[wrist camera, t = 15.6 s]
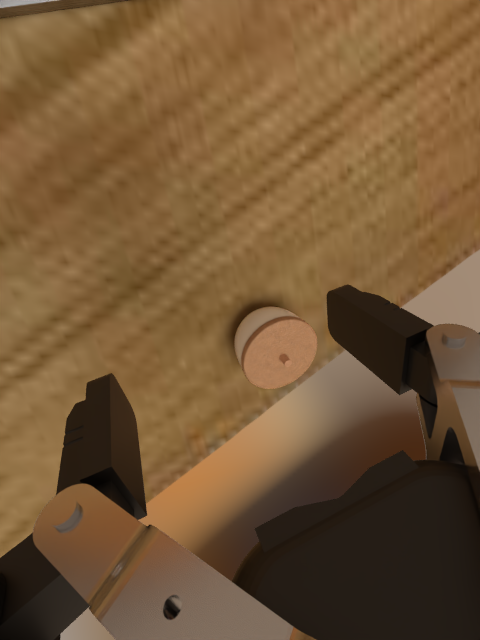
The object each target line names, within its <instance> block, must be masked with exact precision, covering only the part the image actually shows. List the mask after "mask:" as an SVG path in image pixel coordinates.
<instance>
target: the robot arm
mask: <svg viewBox="0 0 480 640" xmlns="http://www.w3.org/2000/svg"><path fill="white" fill-rule="evenodd" d="M327 315H328V328H329V332H330V334H331V336H332V337H333V339H334V340H335V341H336V342H337V343H339V344H340V345H341V346H342V347H343V348H344V349H346V350H347V351H348V352H349V353H350V354H352V355H353V356H354V357H355V358H356V359H357V360H359V361H360V362H361V363H362V364H363V365H365V366H366V367H367V368H368V369H369V370H370V371H372V372H373V373H374V374H375V375H376V376H378V377H379V378H380V379H381V380H383V382H385V383H386V384H387V385H388V386H389V387H391V388H392V389H393V390H394V391H395V392H396V393H398V394H399V395H400V394H403V393H405V392H407V391H409V390H411V389H413V390H414V391H416V392H417V394H416V403H417V408H418V413H419V418H420V422H421V427H422V432H423V436H424V442H425V447H426V460H416V461H413V460H412V459H411V458H410V457H409V456H408V455H407V454H406V453H405V452H404V451H403V450H402V451H400V452H399V453H397V454H395V455H393V456H391V457H389V458H387V459H385V460H383V461H381V462H380V463H378V464H376V465H374V466H372V467H370V468H369V469H368V470H367V471H366V472H365V473H364V474H363V475H362V476H361V477H360V478H359V479H358V480H357V481H356V483H354V484H353V485H352V486H351V488H349V489H348V490H347V491H346V492H345V494H344V495H342V496H341V497H339V498H337V499H333V500H328V501H324V502H319V503H314V504H309V505H304V506H300V507H295V508H293V509H291V510H289V511H287V512H285V513H283V514H281V515H279V516H277V517H276V518H274V519H272V520H270V521H268V522H266V523H264V524H262V525H261V526H259V527H257V528H255V531H256V533H257V536H258V539H259V542H258V543H257V544H256V545H255V546H254V547H253V548H252V549H251V551H250V552H249V553H248V554H247V556H246V557H245V558H244V560H243V561H242V563H241V564H240V566H239V568H238V569H237V571H236V573H235V575H234V577H233V579H232V582H231V581H229V580H228V579H227V578H226V577H224V576H223V575H221V574H220V573H219V572H217V571H216V570H215V569H213V568H212V567H210V566H209V565H208V564H206V563H205V562H204V561H202V560H201V559H199V558H198V557H197V556H195V555H194V554H192V553H191V552H190V551H188V550H187V549H186V548H184V547H183V546H181V545H180V544H178V543H177V542H176V541H175V540H173V539H172V538H170V537H169V536H168V535H166V534H165V533H163V532H162V531H161V530H159V529H158V528H156V527H154V526H152V525H149V526H146V525H144V524H142V523H141V522H140V521H138V520H139V519H141V518H143V517H145V516H147V511H146V502H145V493H144V484H143V476H142V467H141V458H140V449H139V440H138V432H137V423H136V418H135V415H134V412H133V409H132V407H131V405H130V403H129V401H128V399H127V398H126V396H125V394H124V392H123V390H122V389H121V387H120V385H119V383H118V382H117V380H116V378H115V376H114V375H113V374H112V373H111V374H108V375H105V376H103V377H100V378H97V379H95V380H92V381H90V382H88V383H87V388H86V400H84V401H82V402H79V403H76V404H75V406H74V407H73V409H72V411H71V412H70V414H69V416H68V418H67V421H66V428H65V434H66V435H65V436H64V443H63V445H64V447H63V450H62V457H61V464H60V471H59V478H58V486H57V493H56V496H54V497H53V498H52V499H51V500H50V501H49V502H48V503H47V504H46V506H45V507H44V508H43V510H42V511H41V513H40V514H39V516H38V518H37V520H36V522H35V525H34V529H33V533H32V534H31V535H29V536H28V537H27V538H26V539H25V540H23V541H22V542H21V543H19V544H18V545H17V546H15V547H14V548H13V549H11V550H10V551H9V552H7V553H6V554H5V555H4V556H2V557H1V558H0V640H60V633H61V632H63V631H64V630H65V629H66V628H67V627H68V626H69V625H70V624H71V623H72V622H73V621H74V620H75V619H76V618H78V617H79V616H80V615H81V614H82V613H83V612H84V611H85V610H86V609H87V608H88V607H89V606H90V607H89V609H90V611H91V612H92V614H93V615H94V616H95V617H96V618H97V620H98V621H99V622H100V623H101V624H102V625H103V626H104V627H105V628H106V630H107V631H108V632H109V633H110V634H111V635H112V636H113V637H114V639H115V640H480V333H477V332H476V331H474V330H472V329H470V328H468V327H465V326H462V325H457V324H440V325H436V326H433V325H432V324H430V323H428V322H426V321H424V320H422V319H420V318H419V317H417V316H415V315H413V314H412V313H410V312H408V311H406V310H404V309H402V308H401V309H400V308H399V306H397V305H395V304H393V303H390V301H388V300H386V299H384V298H382V297H381V296H379V295H375V294H371V293H367V292H361V291H359V290H358V289H356V288H354V287H352V286H351V285H344V286H342V287H339V288H337V289H334V290H331V291H329V292H328V293H327Z"/></svg>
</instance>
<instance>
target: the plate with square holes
mask: <svg viewBox="0 0 480 640" xmlns="http://www.w3.org/2000/svg"><path fill="white" fill-rule="evenodd" d="M121 1H128V0H0V18H5V17H13V16H20V15H27V14H34V13H41V12H49V11H56V10H63V9H70V8H77V7H85V6H92V5H99V4H106V3H113V2H121Z"/></svg>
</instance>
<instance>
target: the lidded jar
mask: <svg viewBox="0 0 480 640" xmlns="http://www.w3.org/2000/svg"><path fill="white" fill-rule="evenodd" d="M234 345H235V352H236V356H237V359H238V361H239V363H240V365H241V367H242V370H243V372H244V374H245V376H246V377H247V379H248V380H249V381H250V382H251V383H252V384H253V385H255V386H257V387H260V388H266V389H274V388H279V387H282V386H285V385H287V384H289V383H291V382H293V381H295V380H296V379H297V378H299V377H300V376H301V375H302V374H303V373H304V372H305V371H306V370H307V369H308V367H309V366H310V365H311V363H312V361H313V359H314V357H315V354H316V350H317V337H316V334H315V332H314V330H313V328H312V327H311V326H310V325H309V324H308V323H306V322H305V321H304V320H302V319H301V318H299V317H298V316H297V315H295V314H294V313H292V312H290V311H288V310H286V309H283V308H280V307H272V306H271V307H263V308H259V309H257V310H255V311H253V312H251V313H250V314H248V315H247V316H246V317H245V318H244V319H243V320H242V322H241V323H240V325H239V327H238V329H237V331H236V335H235V342H234Z"/></svg>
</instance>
